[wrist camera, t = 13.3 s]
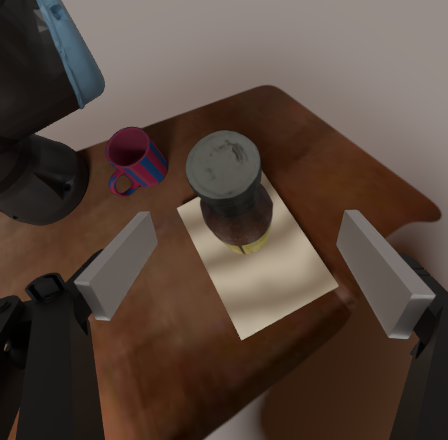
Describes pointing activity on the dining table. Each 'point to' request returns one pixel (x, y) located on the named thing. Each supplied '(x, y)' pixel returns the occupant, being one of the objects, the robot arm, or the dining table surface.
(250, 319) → the birch board
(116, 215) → the dining table surface
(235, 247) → the sauce bottle
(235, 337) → the dining table surface
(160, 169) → the mug
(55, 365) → the robot arm
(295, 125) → the dining table surface
